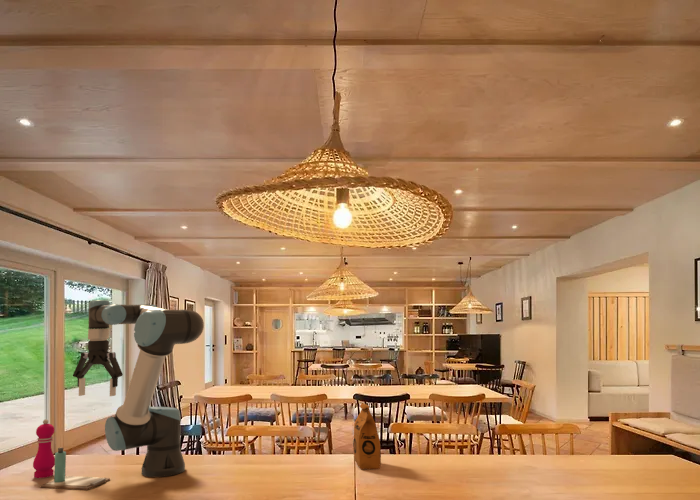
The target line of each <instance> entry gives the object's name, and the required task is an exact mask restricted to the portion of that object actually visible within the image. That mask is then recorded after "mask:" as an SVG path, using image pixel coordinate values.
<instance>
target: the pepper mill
mask: <svg viewBox="0 0 700 500" xmlns="http://www.w3.org/2000/svg"><path fill="white" fill-rule="evenodd" d="M54 434H55V427H54V425H53V424H50V423H49V420H48V419H43V421H42V424H40V425H38V427H37V428H36V430H35V435H36V436H37V441H36V442H37V443H38V447H37V452H36V455H35V457H34V459H33V462H32V468H33V469H34V470H35V471H34V472H33V478H34V479H47V478H50V477H54V471H55V469H53V468H55V454H54V452H53V450H52V441H54V440H53V438H54V437H53V435H54Z"/></svg>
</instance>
